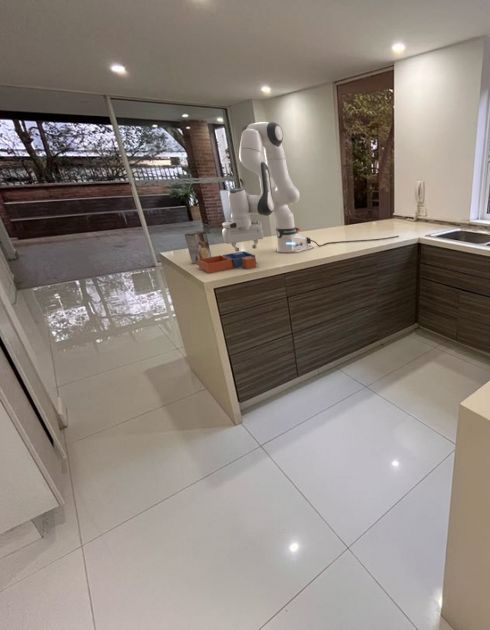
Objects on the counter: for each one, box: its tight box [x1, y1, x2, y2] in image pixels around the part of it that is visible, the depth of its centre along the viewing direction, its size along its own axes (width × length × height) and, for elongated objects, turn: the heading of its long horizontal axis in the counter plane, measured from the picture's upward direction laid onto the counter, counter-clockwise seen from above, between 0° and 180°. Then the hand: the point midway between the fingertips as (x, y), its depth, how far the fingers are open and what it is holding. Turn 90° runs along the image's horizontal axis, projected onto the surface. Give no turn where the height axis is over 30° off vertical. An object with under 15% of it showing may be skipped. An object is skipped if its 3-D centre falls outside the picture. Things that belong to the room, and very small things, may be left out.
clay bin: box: [198, 255, 234, 274], centre depth 177 cm, size 12×13×5 cm
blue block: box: [231, 251, 245, 259], centre depth 186 cm, size 5×5×5 cm
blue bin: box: [221, 250, 257, 269], centre depth 186 cm, size 12×13×5 cm
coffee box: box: [184, 230, 212, 265], centre depth 187 cm, size 9×6×16 cm
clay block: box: [242, 256, 257, 270], centre depth 179 cm, size 5×5×5 cm
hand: (246, 249), depth 176 cm, fingers open, 8 cm apart
